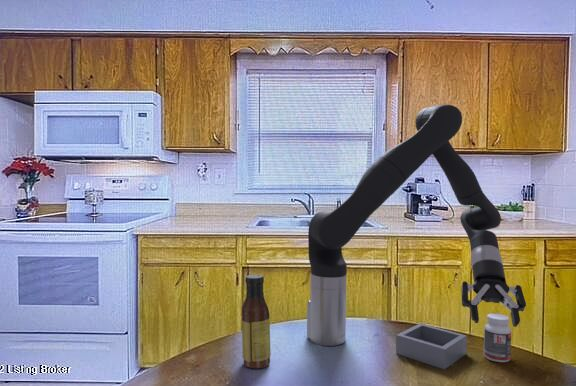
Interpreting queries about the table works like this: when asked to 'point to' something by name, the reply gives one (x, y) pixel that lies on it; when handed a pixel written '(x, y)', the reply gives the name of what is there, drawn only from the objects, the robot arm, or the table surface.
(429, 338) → the bin
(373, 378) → the table surface
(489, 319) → the pill bottle
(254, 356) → the sauce bottle
